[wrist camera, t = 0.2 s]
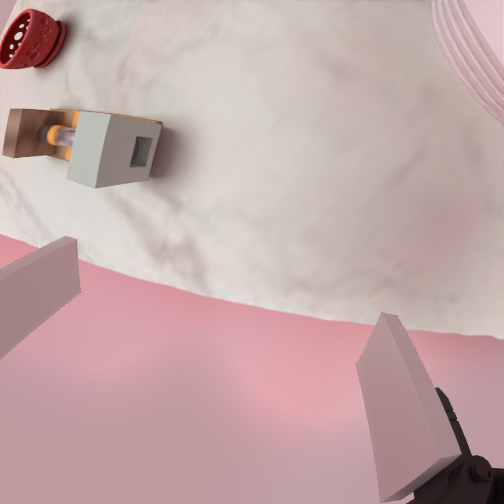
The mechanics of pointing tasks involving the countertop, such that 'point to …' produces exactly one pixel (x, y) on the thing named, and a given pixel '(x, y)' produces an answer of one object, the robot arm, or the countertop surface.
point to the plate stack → (474, 47)
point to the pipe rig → (46, 133)
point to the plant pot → (31, 41)
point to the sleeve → (111, 150)
